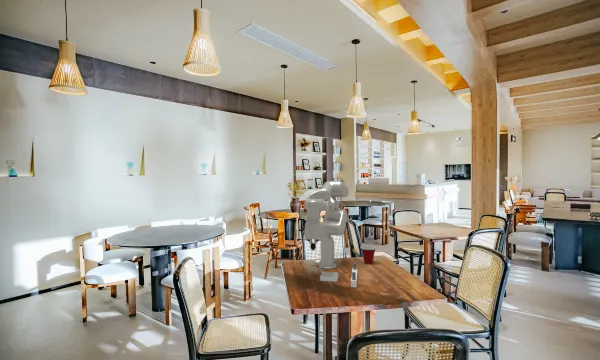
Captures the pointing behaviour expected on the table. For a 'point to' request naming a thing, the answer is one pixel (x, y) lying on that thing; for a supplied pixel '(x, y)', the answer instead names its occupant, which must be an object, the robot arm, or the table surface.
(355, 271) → the bar
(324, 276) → the metal plate
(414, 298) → the table surface
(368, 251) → the plastic cup
